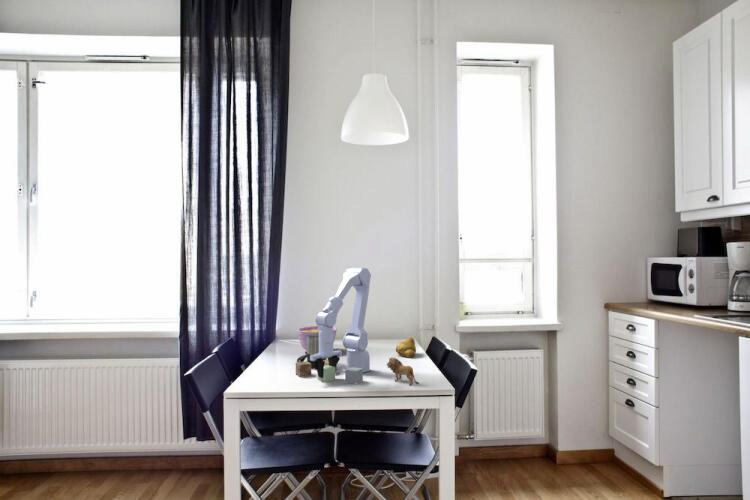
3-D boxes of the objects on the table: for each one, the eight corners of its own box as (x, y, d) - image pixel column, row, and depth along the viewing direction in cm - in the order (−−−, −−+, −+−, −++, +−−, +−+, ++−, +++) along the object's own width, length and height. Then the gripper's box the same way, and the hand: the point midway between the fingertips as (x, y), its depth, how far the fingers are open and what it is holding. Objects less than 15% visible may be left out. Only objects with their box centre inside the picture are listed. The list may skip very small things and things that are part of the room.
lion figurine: (384, 380, 206) (384, 357, 206) (393, 377, 210) (392, 355, 210) (415, 386, 196) (414, 362, 196) (423, 383, 200) (422, 360, 200)
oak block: (328, 370, 223) (328, 359, 223) (336, 372, 220) (336, 360, 220) (320, 373, 219) (320, 361, 219) (328, 374, 216) (328, 362, 216)
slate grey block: (351, 379, 208) (351, 367, 208) (362, 381, 206) (362, 368, 205) (345, 382, 203) (345, 369, 203) (356, 384, 201) (356, 371, 201)
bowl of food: (292, 350, 269) (292, 327, 269) (329, 346, 277) (329, 325, 277) (304, 357, 251) (304, 333, 251) (342, 353, 259) (342, 330, 259)
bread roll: (418, 358, 247) (417, 341, 247) (397, 358, 246) (397, 341, 246) (414, 352, 260) (414, 336, 259) (394, 353, 259) (394, 337, 259)
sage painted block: (327, 377, 211) (327, 365, 211) (335, 379, 208) (335, 367, 208) (317, 379, 208) (317, 367, 208) (325, 382, 204) (325, 369, 204)
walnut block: (307, 373, 219) (306, 361, 219) (311, 375, 215) (311, 363, 215) (295, 374, 217) (295, 362, 217) (299, 377, 212) (299, 365, 212)
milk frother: (323, 369, 225) (323, 335, 225) (289, 368, 228) (288, 334, 228) (332, 362, 239) (332, 330, 239) (300, 361, 242) (299, 329, 242)
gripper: (334, 338, 215) (334, 371, 216) (305, 343, 206) (305, 377, 206) (345, 340, 210) (345, 374, 210) (315, 345, 200) (316, 380, 201)
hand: (326, 376), depth 208 cm, fingers closed on sage painted block, 5 cm apart
